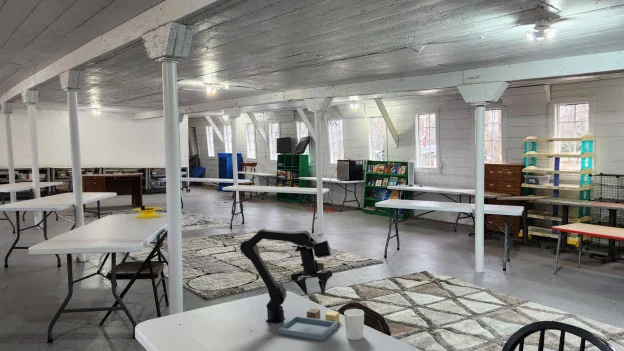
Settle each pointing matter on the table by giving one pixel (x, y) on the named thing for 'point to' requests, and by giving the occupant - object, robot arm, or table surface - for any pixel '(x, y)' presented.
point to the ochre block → (332, 316)
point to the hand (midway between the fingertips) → (315, 294)
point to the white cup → (354, 323)
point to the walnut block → (313, 313)
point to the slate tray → (308, 328)
